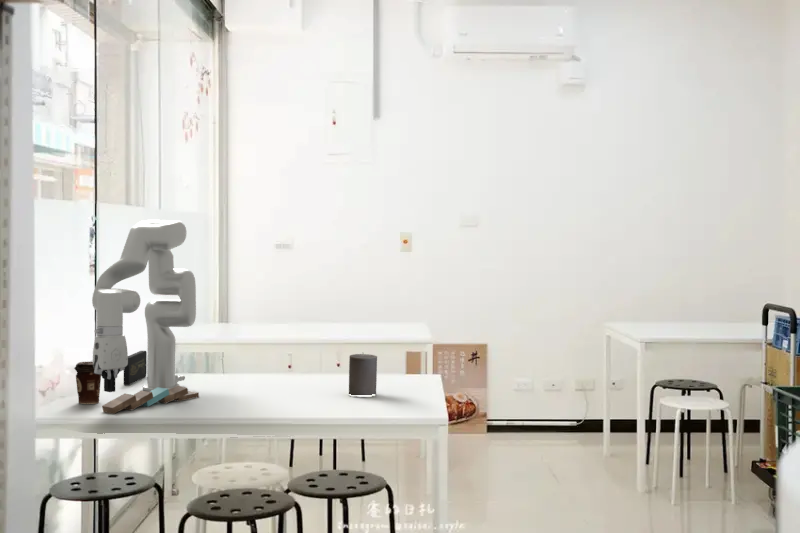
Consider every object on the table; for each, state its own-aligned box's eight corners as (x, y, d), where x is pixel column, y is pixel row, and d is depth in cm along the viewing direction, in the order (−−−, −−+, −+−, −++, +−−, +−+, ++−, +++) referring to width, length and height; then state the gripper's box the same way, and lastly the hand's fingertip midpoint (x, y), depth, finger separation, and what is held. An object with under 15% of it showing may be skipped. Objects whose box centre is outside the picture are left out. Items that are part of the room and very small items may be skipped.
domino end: (167, 400, 296) (188, 396, 304) (178, 402, 293) (198, 398, 301) (167, 394, 296) (188, 391, 303) (178, 396, 293) (198, 392, 301)
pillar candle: (343, 396, 306) (344, 352, 306) (357, 391, 315) (358, 349, 314) (367, 399, 302) (368, 355, 301) (381, 394, 310) (382, 351, 310)
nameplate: (141, 376, 342) (141, 350, 342) (146, 376, 342) (146, 350, 342) (123, 385, 321) (123, 358, 321) (128, 385, 321) (128, 358, 321)
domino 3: (156, 400, 292) (179, 390, 298) (165, 403, 289) (188, 393, 295) (155, 395, 291) (178, 385, 298) (164, 397, 288) (187, 387, 294)
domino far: (103, 411, 274) (126, 399, 281) (114, 413, 271) (136, 401, 278) (101, 405, 274) (124, 393, 281) (112, 407, 271) (135, 395, 278)
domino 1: (121, 408, 280) (142, 396, 287) (132, 410, 277) (153, 397, 284) (119, 402, 279) (141, 390, 286) (130, 404, 277) (151, 392, 284)
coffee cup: (71, 405, 283) (71, 364, 283) (76, 400, 291) (76, 361, 291) (100, 404, 285) (100, 364, 284) (104, 400, 293) (104, 360, 292)
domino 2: (137, 404, 286) (159, 392, 293) (148, 406, 283) (169, 394, 290) (136, 399, 285) (157, 387, 292) (146, 400, 283) (168, 388, 290)
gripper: (98, 334, 264) (98, 396, 264) (137, 330, 276) (137, 389, 277) (81, 332, 268) (81, 393, 268) (120, 328, 280) (120, 386, 281)
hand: (109, 391), depth 273 cm, fingers closed
